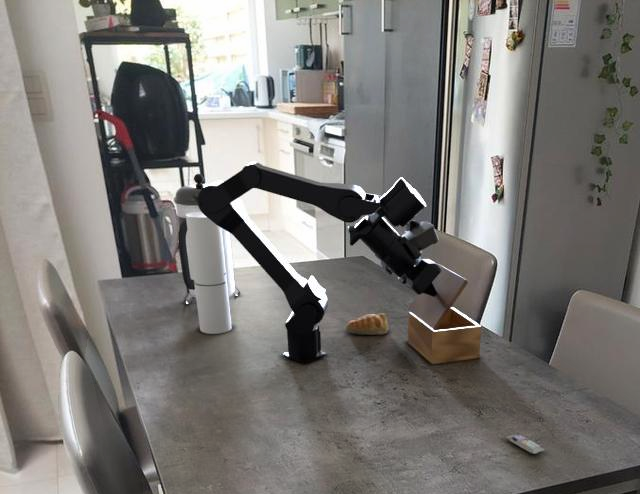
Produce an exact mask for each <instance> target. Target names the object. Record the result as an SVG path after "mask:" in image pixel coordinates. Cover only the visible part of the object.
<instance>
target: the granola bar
mask: <svg viewBox="0 0 640 494" xmlns="http://www.w3.org/2000/svg"><path fill="white" fill-rule="evenodd" d="M506 438H507V439H508V440H509V441H510V442H511V443H513V444H514V445H517V446H518V447H520V448H521V449H523V450H525V451H526V452H528V453H530V454H534V455H536V454H539V453H540V452H541V453H542V452H543V451H545V449H544V448H543V447H541V446H540V445H539V444H537V443H535V442H533V440H530V439H528V438H527V437H525V436H523V435H521V434H519V433H514V434H512V435H508V436H506Z"/></svg>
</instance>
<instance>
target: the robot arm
mask: <svg viewBox="0 0 640 494" xmlns="http://www.w3.org/2000/svg"><path fill="white" fill-rule="evenodd" d="M253 189H257V190H259V191H260V190H261V191H263V192H267V193H271V194H274V195H278V196H280V197H281V196H282V197H285V198H288V199H292V200H295V201H299V202H302V203H305V204H308V205H312V206H314V207H316V208H319V209H320V210H321V211H323V212H325V213H326V214H327V215H329V216H331V217H333V218H335V219H338V220H339V221H341V222H343V223H348V224H351V223H352V224H353V223H354V222H357V221H358V220H359V219H360V220H359V222H358V223H356V224H355V225H349V226H347V230H348V235H347V236H348V237H347V239H348V243H349V245H350V246H351V247H352V246H354V245H355V244H356V243H357V242H358V241H359V240H360V241H361V242H362V243H363V244H365V246H366V247H368V249H369V250H370V251H371V252H372V253H373V254H374V256H375V257H376V259H378V260H379V261H380V267H381V268H382V269H383V270H384V272H386V274H388V275H390V276H392V275H395V276H396V277H397V281H398V282H400V283H401V284H403V285H404V286H405V287H407V288H408V289H410V290H412V292H413V293H415V294H416V295H417V294H418V295H420V294H422V293H424V294H427V295H430V296H433V297H435V295H436V294H437V291H436V289H435V287H434V285H433V283H432V282H433V280H434V279H435V278H436V277H437V276H438V275H439V274H440V273H441V269H440V268H439V266H438V265H437V263H436V262H435V261H433V260H431V259H429V258H423V259H422V258H421V256H423V254H422V253H421V251H423V250H426V249H427V248H429V247H430V246H431V245H435V244H437V243H438V242H439V241H440V240H439V236H438V234H437V231H436V229H435V226H434V224H432V223H430V222H428V221H421V222H420V223H419V222H418V221H417V220H415V219H414V218H415V217H416V216H417V215H418V214H419V213H421V212H422V211H423V210H424V209H425V208H426V207H427V204H426V202H425V201H424V199H423V198H422V196H421V194H420V193H419V192H418V191H417V190H416V189H415V188H413V187H412V185H411V184H409V183H408V182H407V181H406V179H404V178H403V177H399V178H398V179H397V180H396V181H395V183H394V184H393V186H392V187H390V189H389V190H387V192H386V193H384V194H383V195H377V194H372V193H369V192H365V191H364V189H363V188H362V187H361V186H359V185H356V184H350V183H339V182H321V181H318V180H317V181H316V180H313V179H310V178H306V177H304V176H301V175H297V174H293V173H289V172H287V171H284V170H283V171H282V170H280V169H277V168H273V167H269V166H265V165H263V164H261V163H260V162H258V161H257V162H256V161H252V162H249V163H248V164H246V165H245V166H243V167H242V169H241V170H240V171H238V172H237V173H235V174H234V175H232V176H231V177H229V178H228V179H226V180H224V181H223V180H217V181H213V182H211V183H209V185H208V186H206V187H204V188H203V189H202V190H201V191H200V193H199V195H198V207H199V209H200V211H201V212H202V213H203V214H204V215H205V216H206V217H207V218H209V219H210V220H211V221H212V222H214V223H215V224H216V225H217V226H219V227H221V228H223V229H224V230H226V231H228V232H230V235H232V236H233V237H234V238H235V239H236V241H238V242H239V244H240V245H241V246H242V247H243V248H244V250H245V251H246V252H248V254H249V255H250V256H251V257H252V258H253V259H254V261H256V263H257V264H258V265H259V266H260V267H261V269H262V270H264V272H265V273H266V274H267V275H268V276H269V277H270V278H271V279H272V281H273V282H274V283H275V284H276V286H277V287H279V289H280V290H281V291H282V292H283V295H284V297H285V299H286V301H287V303H288V306H289V308H290V309H291V313H290V315H289V317H288V318H287V320H286V322H285V323H284V326H285V329H286V337H287V351H286V352H284V353H283V355H282V356H283V357H284V358H287V359H290V360H291V361H294V362H295V361H296V362H298V363H301V364H307V363H310V362H313V361H315V360H317V359H320V358H322V357H325V356H326V352H325V351H321V350H322V339H321V331H320V324H319V323H320V322H322V320H323V319H324V317H325V314H326V311H327V309H328V306H329V298H328V297H327V295H326V292H327V290H326V289H325V288H323V286H321V285H320V283H318V281H317V279H316V278H315V277H314V276H313V275H311V276H310V277H309V278H308V279H307V278H305V277H303V276H301V275H300V274H299V273H298V272H297V271H296V270H295V269H294V268H293V267H292V265H291V264H290V263H289V262H288V260H286V259H285V257H283V255H282V254H281V253H280V252H279V250H277V248H276V247H275V246H274V245H273V244H272V242H271V241H270V240H269V239H268V238H267V237H266V236H265V235H264V233H263V232H262V231H261V230H260V229H259V228H258V226H257V225H256V224H255V223H254V222H253V221H252V219H250V217H249V215H248V212H247V210H246V208H245V206H244V204H243V201H242V200H241V198H240V197H242V196H243V195H245V194H246V193H248V192H250V191H251V190H253ZM363 216H364V217H363ZM384 217H385V218H386V219H387V220H386V219H385V218H384ZM361 218H362V219H361ZM391 225H392V226H391ZM399 226H400V227H402V228H404V227H405V231H404V233H403V234H400V233H399V232H397V230H396V229H394V228H395V227H399ZM393 227H394V228H393Z"/></svg>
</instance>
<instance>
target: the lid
mask: <svg viewBox="0 0 640 494" xmlns="http://www.w3.org/2000/svg"><path fill="white" fill-rule="evenodd" d="M436 264H437V265H438V266H439V268H440V269H441V273H440V274H439V275H438V276H437V277H436V278H435V279H434V280H433V282H432V283H433V285H434V287H435V289H436V291H437V294H436V295H435V297H433V296H430V295H427V294H424V293H422V294H420V295H418V294H417V293H416V295H415V296H414V298H413V299H412V301H411V302H410V304H409V305H408V306H407V310H408V312H412V313H413V314H414V315H415V316H417V317H418V318H419V319H421V320H422V321H423V322H425V323H426V324H427V325H428V326H430V327H431V328H432V329H434V330H436V329H437V328H438V326H439V325H440V323H441V322H442V320H443V319H444V317H445V316H446V314H447V313H448V311H449V310H450V308H451V307H453V306H454V304H455V302H456V301H457V300H458V298H459V297H460V295H461V294H462V292H463V291H464V290H465V288H466V286H467V285H468V284H469V280H467V279H466V278H465V277H462V276H461V275H459V274H457V273H456V272H454V271H452V270H450V269H448V268H446V267H445V266H444V265H442V264H440V263H436Z"/></svg>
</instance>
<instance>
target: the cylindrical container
mask: <svg viewBox="0 0 640 494" xmlns="http://www.w3.org/2000/svg"><path fill="white" fill-rule="evenodd" d="M186 221H187V229H188V237H189V245H190V253H191V261H192V269H193V277H194V285H195V292H196V298H195V300H196V309H197V315H198V323H199V324H198V325H199V330H200V332H201V333H204V334H209V335H219V334H224V333H227V332H229V331H231V330H232V319H231V309H230V298H229V297H230V296H228V288H227V278H226V268H225V258H224V248H223V238H222V229H221V227H219V226H217V225H216V224H215V223H214V222H212V221H211V220H210V219H209V218H207V217H206V216H205V215H204V214H203V213H202V212H201V211H199V212H191V213H188V214H186Z"/></svg>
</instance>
